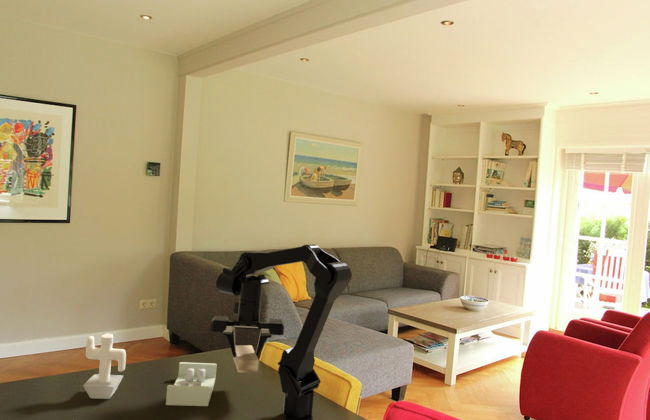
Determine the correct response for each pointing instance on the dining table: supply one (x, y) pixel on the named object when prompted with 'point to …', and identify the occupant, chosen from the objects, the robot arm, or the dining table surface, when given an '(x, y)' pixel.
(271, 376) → the dining table surface
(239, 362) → the beige tapered block
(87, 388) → the figurine
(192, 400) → the pale green pegged panel
